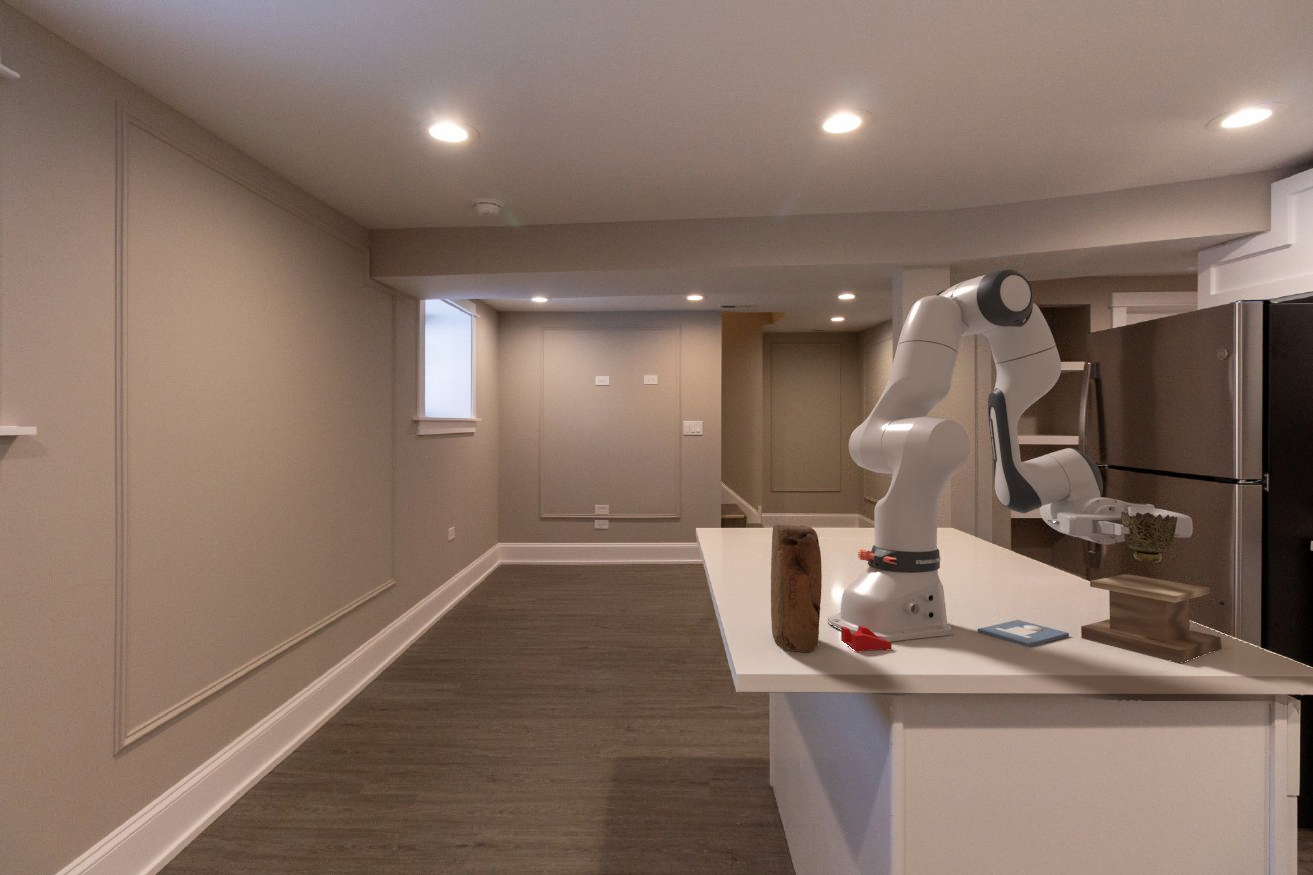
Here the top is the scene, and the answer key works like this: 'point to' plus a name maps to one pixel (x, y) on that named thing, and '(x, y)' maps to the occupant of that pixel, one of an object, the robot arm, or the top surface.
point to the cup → (1149, 535)
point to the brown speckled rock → (795, 587)
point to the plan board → (1023, 633)
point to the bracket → (863, 639)
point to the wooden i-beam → (1151, 618)
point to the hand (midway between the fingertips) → (1151, 530)
